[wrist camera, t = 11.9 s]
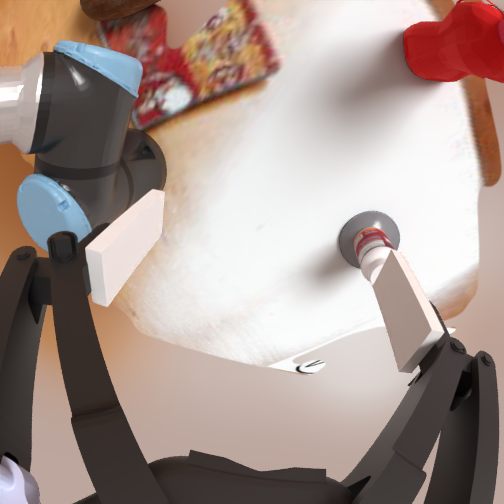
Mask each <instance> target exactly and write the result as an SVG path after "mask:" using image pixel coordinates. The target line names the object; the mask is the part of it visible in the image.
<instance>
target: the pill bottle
mask: <svg viewBox="0 0 504 504" xmlns="http://www.w3.org/2000/svg"><path fill="white" fill-rule="evenodd" d="M354 249H355V253H356V256H357V259H358V262H359V265H360V268H361V271H362V273H363V275H364V277H365V278H366V279H367V280H368V281H369V282H370V283H371V285H372V286H373V284H374V283H375V281H376V279H377V277H378V275H379V273H380V271H381V269H382V267H383V265H384V263H385V261H386V259H387V257H388V255H389V253H390V250H391V249H393V250H394V248H393V246H392V244H391V242H390V241H389V239H388V237H387V236H386V234H385V233H384V232H383V231H382V230H381V229H379V228H377V227H368V228H365V229H363V230H361V231H360V232H359V233H358V234H357V236H356V237H355V240H354Z"/></svg>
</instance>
